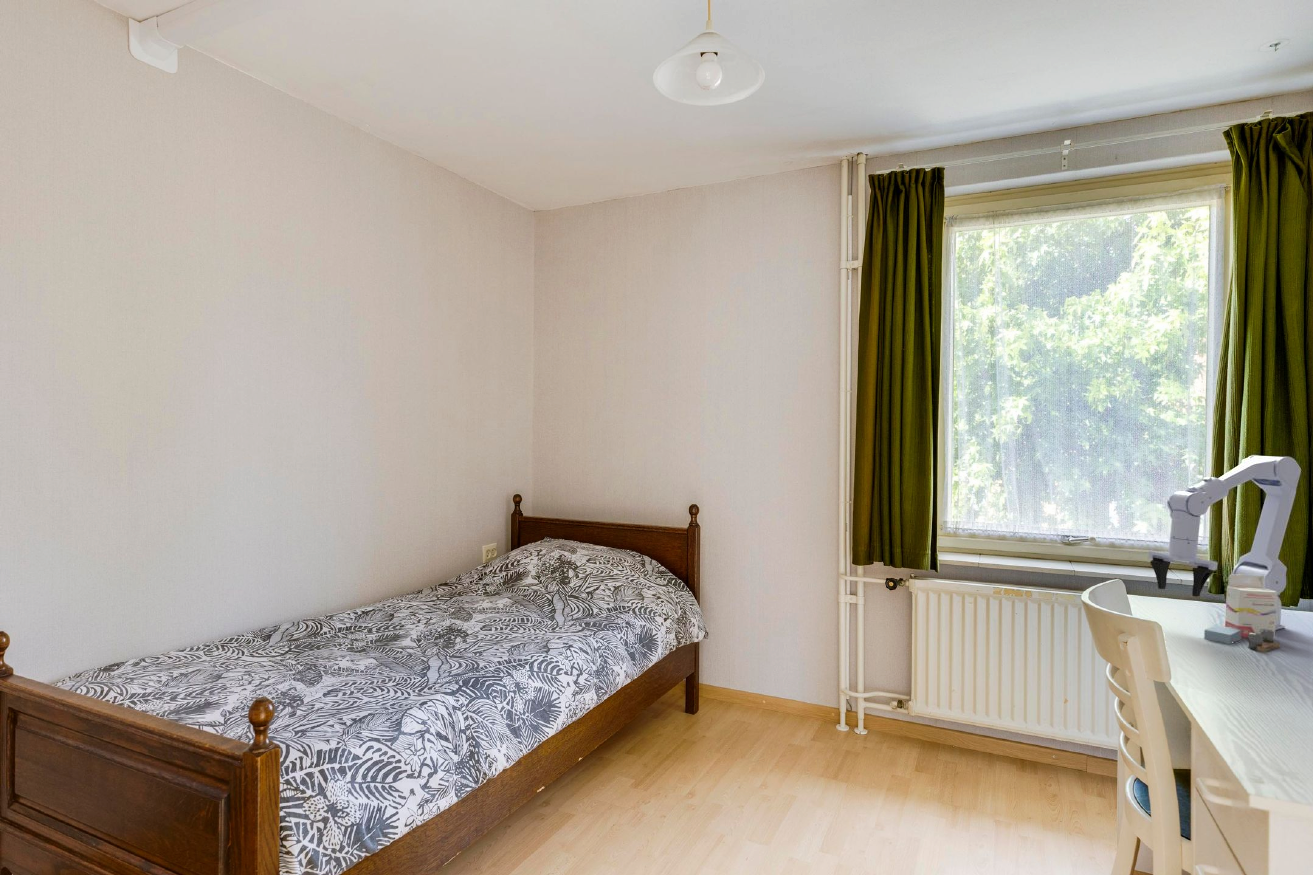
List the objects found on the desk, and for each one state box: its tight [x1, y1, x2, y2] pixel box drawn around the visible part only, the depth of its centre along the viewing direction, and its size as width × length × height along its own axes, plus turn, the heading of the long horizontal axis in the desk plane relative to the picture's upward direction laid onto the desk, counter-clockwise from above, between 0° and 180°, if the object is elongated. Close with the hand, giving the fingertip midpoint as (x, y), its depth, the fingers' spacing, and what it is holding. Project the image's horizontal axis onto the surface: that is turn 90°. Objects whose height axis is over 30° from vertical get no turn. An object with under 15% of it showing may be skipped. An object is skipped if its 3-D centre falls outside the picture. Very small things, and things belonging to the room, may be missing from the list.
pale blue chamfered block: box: [1203, 624, 1242, 645], centre depth 171 cm, size 8×5×2 cm, turn 126°
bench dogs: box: [1247, 629, 1280, 653], centre depth 164 cm, size 8×3×4 cm, turn 120°
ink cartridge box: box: [1224, 573, 1278, 640], centre depth 174 cm, size 9×5×15 cm, turn 84°
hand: (1178, 592), depth 179 cm, fingers open, 7 cm apart
